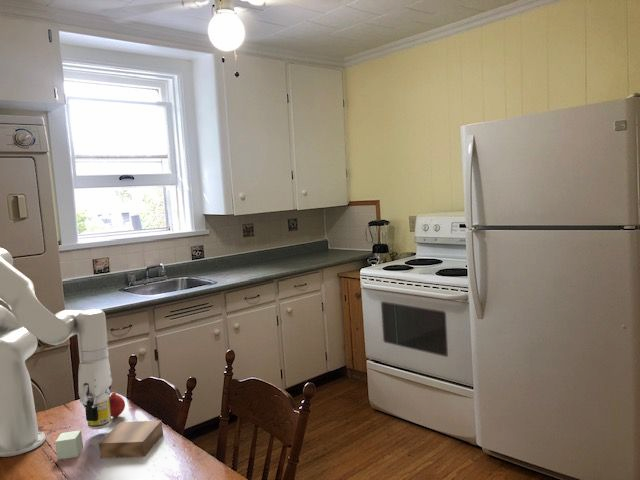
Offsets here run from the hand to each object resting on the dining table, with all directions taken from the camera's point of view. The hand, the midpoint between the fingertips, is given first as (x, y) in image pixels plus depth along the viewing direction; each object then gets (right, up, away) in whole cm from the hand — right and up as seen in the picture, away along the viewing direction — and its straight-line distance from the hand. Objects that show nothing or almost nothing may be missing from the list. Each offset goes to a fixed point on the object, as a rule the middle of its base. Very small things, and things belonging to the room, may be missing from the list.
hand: (98, 414), depth 148 cm
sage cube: (-3, -7, -10) cm, 13 cm away
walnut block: (+13, -6, -8) cm, 16 cm away
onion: (+1, -5, +11) cm, 12 cm away
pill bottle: (0, -3, 0) cm, 3 cm away
